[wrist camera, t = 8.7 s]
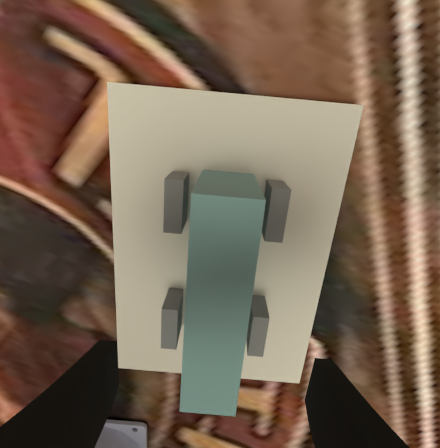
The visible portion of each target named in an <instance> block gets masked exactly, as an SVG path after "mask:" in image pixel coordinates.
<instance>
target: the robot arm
mask: <svg viewBox="0 0 440 448" xmlns="http://www.w3.org/2000/svg"><path fill="white" fill-rule="evenodd" d="M118 385H119V380H118V355H117V341H106V340H100V341H98V342H97V343H96V344H95V345H94V346H93V347H92V348H91V349H90V350H89V351H88V352H86V353H85V354H84V355H83V356H82V357H81V358H80V359H79V360H78V361H77V362H76V363H75V364H74V365H73V366H72V367H71V368H70V369H68V370H67V371H66V372H65V373H64V374H63V375H62V376H61V377H60V378H59V379H57V380H56V381H55V382H54V383H53V384H52V385H51V386H50V387H49V388H47V389H46V390H45V391H44V392H43V393H42V394H40V395H39V396H38V397H37V398H36V399H34V400H33V401H32V402H31V403H30V404H28V405H27V406H26V407H25V408H24V409H22V410H21V411H20V412H19V413H17V414H16V415H15V416H14V417H12V418H11V419H10V420H8V421H7V422H6V423H5V424H3V425H2V426H1V427H0V448H147V425H146V424H145V423H143V422H132V421H120V420H108V419H107V418H108V416H109V413H110V410H111V407H112V404H113V401H114V398H115V395H116V391H117V388H118ZM305 404H306V410H307V415H308V421H309V426H310V431H311V435H312V438H313V442H314V445H315V448H409V447H408V446H407V445H406V444H405V442H404V441H403V440H402V439H401V438H400V437H399V436H398V435H397V434H396V433H395V432H394V431H393V430H392V429H391V428H390V427H389V426H388V425H387V423H386V422H385V421H384V420H383V419H382V418H381V417H380V416H379V415H378V413H377V412H376V411H375V410H374V409H373V408H372V407H371V406H370V404H369V403H368V402H367V401H366V400H365V399H364V397H363V396H362V395H361V394H360V393H359V392H358V390H357V389H356V388H355V387H354V386H353V384H352V383H351V382H350V381H349V380H348V378H347V377H346V376H345V375H344V374H343V372H342V371H341V370H340V369H339V368H338V366H337V365H336V364H335V363H334V362H333V360H330V359H318V358H315V361H314V365H313V369H312V373H311V377H310V381H309V385H308V389H307V393H306V398H305Z"/></svg>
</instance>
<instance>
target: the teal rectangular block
mask: <svg viewBox="0 0 440 448" xmlns="http://www.w3.org/2000/svg"><path fill="white" fill-rule="evenodd" d="M265 204H266V199H265V197H264V195H263V193H262V191H261V189H260V187H259V185H258V182H257V180H256V178H255V176H254V174H247V173H236V172H225V171H213V170H202V172H201V175H200V177H199V179H198V181H197V183H196V185H195V187H194V189H193V191H192V193H191V206H190V225H189V244H188V262H187V281H186V300H185V318H184V337H183V356H182V375H181V393H180V412H189V413H201V414H213V415H225V416H235V415H236V408H237V401H238V394H239V387H240V380H241V373H242V366H243V359H244V352H245V345H246V338H247V331H248V324H249V317H250V310H251V303H252V296H253V289H254V282H255V274H256V267H257V260H258V253H259V246H260V239H261V232H262V225H263V218H264V211H265Z"/></svg>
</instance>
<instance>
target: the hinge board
mask: <svg viewBox="0 0 440 448" xmlns="http://www.w3.org/2000/svg"><path fill="white" fill-rule="evenodd" d="M107 95H108V120H109V145H110V170H111V195H112V220H113V245H114V271H115V296H116V321H117V346H118V368H125V369H137V370H148V371H160V372H172V373H182V356H183V337H184V318H185V300H186V281H187V262H188V244H189V225H190V206H191V193H192V191H193V189H194V187H195V185H196V183H197V181H198V179H199V177H200V175H201V172H202V170H213V171H225V172H236V173H247V174H254V176H255V178H256V180H257V182H258V185H259V187H260V189H261V191H262V193H263V195H264V197H265V199H266V204H265V211H264V218H263V225H262V232H261V239H260V246H259V253H258V260H257V267H256V274H255V282H254V289H253V296H252V303H251V310H250V317H249V324H248V331H247V338H246V345H245V352H244V359H243V366H242V373H241V378H243V379H255V380H266V381H278V382H290V383H299V382H300V378H301V374H302V370H303V365H304V361H305V357H306V352H307V348H308V344H309V339H310V335H311V331H312V326H313V322H314V318H315V313H316V309H317V305H318V300H319V296H320V292H321V287H322V283H323V279H324V274H325V270H326V266H327V262H328V257H329V253H330V249H331V244H332V240H333V236H334V231H335V227H336V223H337V218H338V214H339V210H340V205H341V201H342V197H343V192H344V188H345V184H346V179H347V175H348V171H349V166H350V162H351V158H352V154H353V149H354V145H355V141H356V136H357V132H358V128H359V123H360V119H361V115H362V110H363V106H364V105H355V104H345V103H334V102H323V101H312V100H301V99H290V98H279V97H268V96H257V95H246V94H235V93H224V92H213V91H202V90H191V89H180V88H169V87H158V86H147V85H136V84H125V83H114V82H107Z"/></svg>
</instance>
